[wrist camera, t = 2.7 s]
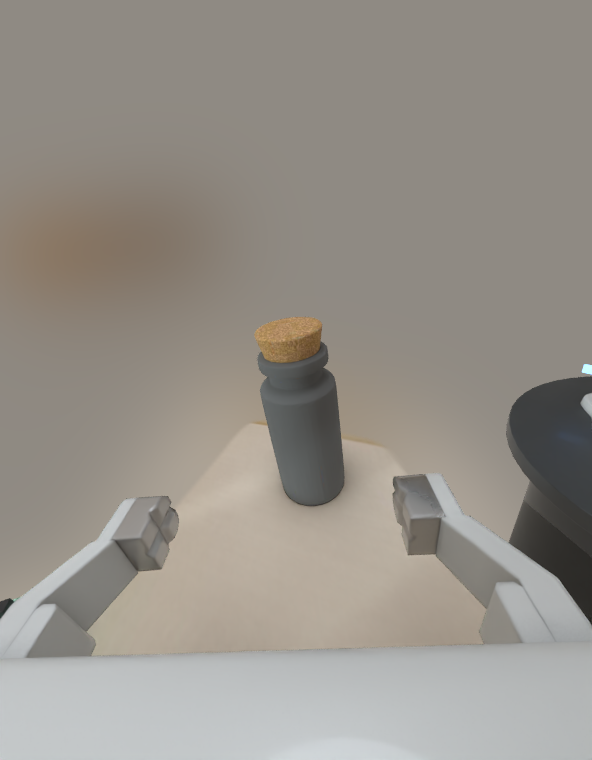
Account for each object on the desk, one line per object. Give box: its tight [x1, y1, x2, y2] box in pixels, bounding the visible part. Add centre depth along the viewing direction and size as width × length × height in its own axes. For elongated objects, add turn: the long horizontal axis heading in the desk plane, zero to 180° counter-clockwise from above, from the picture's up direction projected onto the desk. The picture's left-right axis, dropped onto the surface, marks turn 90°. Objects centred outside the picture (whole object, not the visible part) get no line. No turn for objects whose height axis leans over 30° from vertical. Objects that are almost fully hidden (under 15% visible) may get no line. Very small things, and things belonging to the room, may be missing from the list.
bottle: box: [254, 317, 344, 506], centre depth 23 cm, size 6×6×15 cm
